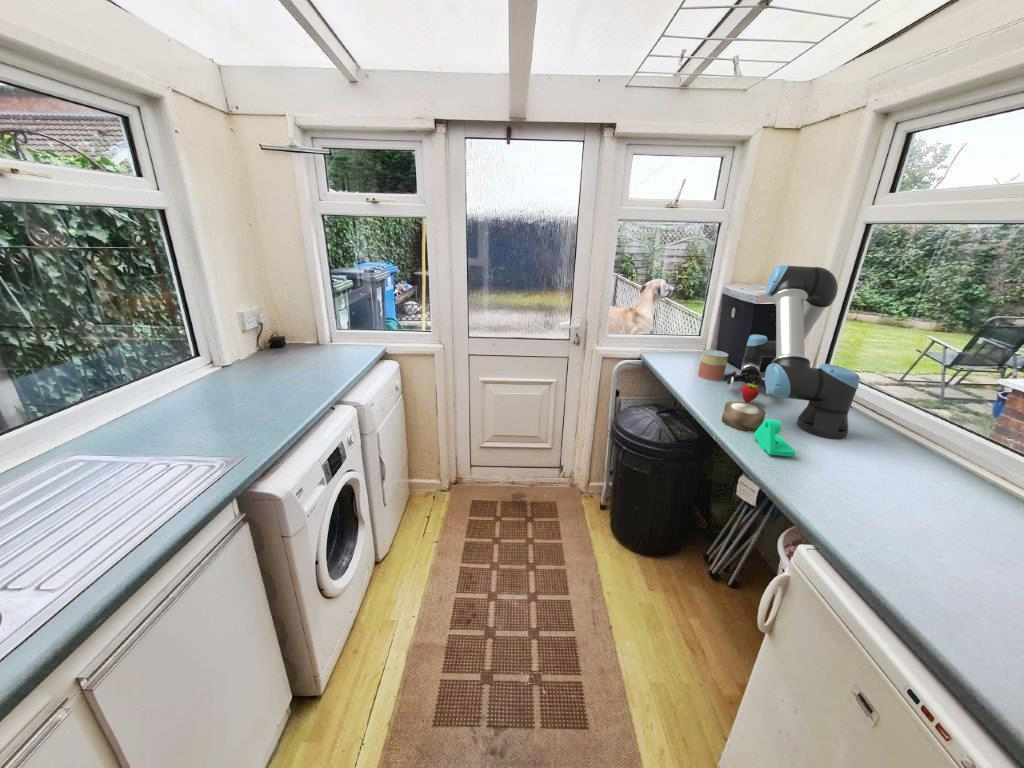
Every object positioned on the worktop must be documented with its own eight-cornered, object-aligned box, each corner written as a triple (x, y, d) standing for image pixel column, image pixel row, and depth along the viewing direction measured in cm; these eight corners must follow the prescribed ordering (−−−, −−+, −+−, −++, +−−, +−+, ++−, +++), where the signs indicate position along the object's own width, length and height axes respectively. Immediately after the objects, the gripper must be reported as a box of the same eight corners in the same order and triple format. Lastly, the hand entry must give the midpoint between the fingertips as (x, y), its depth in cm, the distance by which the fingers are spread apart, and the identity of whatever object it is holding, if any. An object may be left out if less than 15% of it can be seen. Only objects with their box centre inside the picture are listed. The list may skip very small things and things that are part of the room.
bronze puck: (761, 421, 155) (765, 406, 153) (761, 435, 144) (766, 419, 142) (722, 413, 161) (726, 398, 159) (720, 425, 150) (724, 410, 148)
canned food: (727, 381, 195) (733, 357, 191) (703, 380, 195) (708, 356, 191) (716, 373, 206) (722, 350, 201) (693, 372, 206) (698, 349, 201)
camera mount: (794, 459, 130) (803, 430, 126) (768, 457, 131) (777, 428, 127) (776, 441, 141) (784, 413, 137) (752, 439, 142) (760, 411, 138)
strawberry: (749, 400, 174) (755, 377, 171) (758, 407, 167) (765, 384, 164) (735, 399, 175) (740, 376, 171) (743, 406, 168) (749, 383, 164)
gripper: (779, 387, 185) (782, 403, 167) (718, 376, 196) (714, 390, 178) (784, 371, 182) (787, 385, 164) (721, 360, 193) (718, 373, 175)
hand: (749, 388), depth 171 cm, fingers open, 13 cm apart
